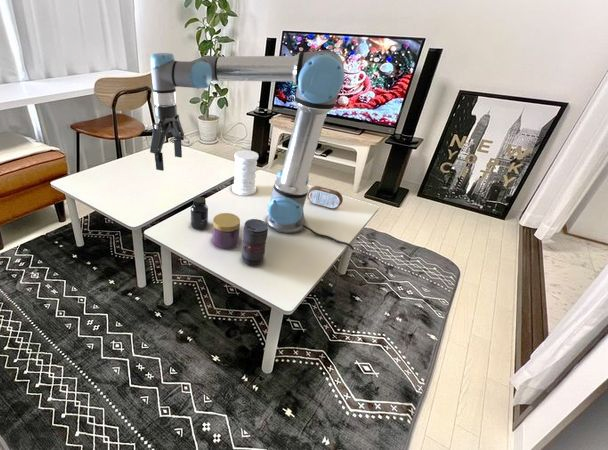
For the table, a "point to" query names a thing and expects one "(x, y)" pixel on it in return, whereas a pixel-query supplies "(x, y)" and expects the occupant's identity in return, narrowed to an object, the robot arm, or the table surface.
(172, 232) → the table surface
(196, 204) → the supplement bottle
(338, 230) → the table surface
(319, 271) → the table surface
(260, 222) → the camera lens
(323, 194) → the tin
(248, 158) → the decorative container
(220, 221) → the jar lid
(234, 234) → the jar
